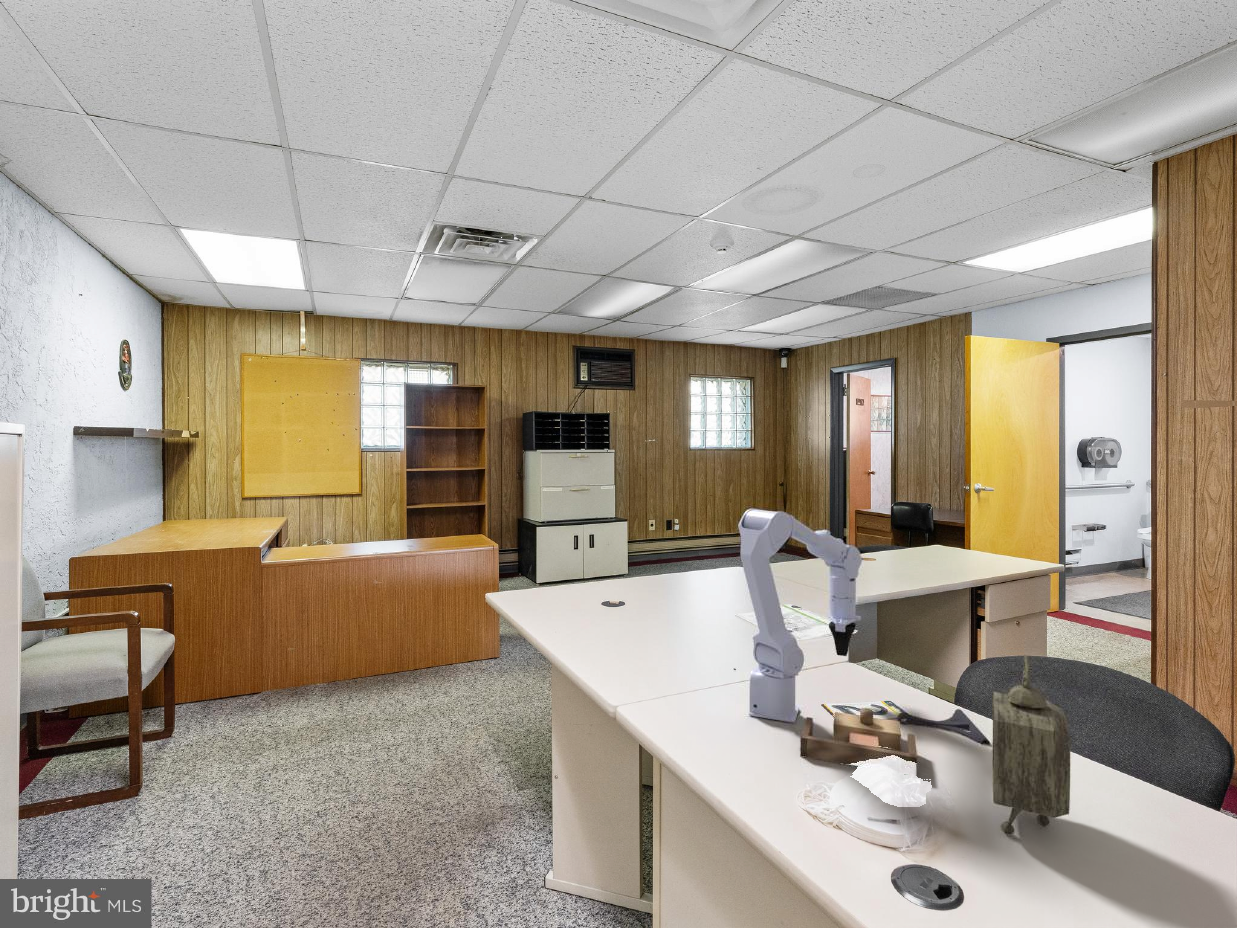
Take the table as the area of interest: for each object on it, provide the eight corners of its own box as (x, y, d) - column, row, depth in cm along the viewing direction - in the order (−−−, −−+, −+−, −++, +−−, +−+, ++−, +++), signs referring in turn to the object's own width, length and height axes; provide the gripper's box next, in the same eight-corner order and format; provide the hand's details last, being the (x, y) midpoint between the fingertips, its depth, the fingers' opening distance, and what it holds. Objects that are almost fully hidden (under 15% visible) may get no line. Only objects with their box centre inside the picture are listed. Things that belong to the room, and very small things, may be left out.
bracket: (889, 711, 136) (889, 698, 136) (962, 716, 133) (962, 703, 133) (907, 742, 122) (907, 728, 122) (990, 748, 119) (990, 734, 119)
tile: (849, 756, 115) (849, 742, 115) (849, 744, 120) (849, 731, 120) (878, 760, 113) (878, 747, 113) (877, 748, 118) (877, 735, 118)
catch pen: (800, 756, 114) (800, 737, 114) (806, 734, 123) (806, 716, 123) (917, 777, 107) (917, 757, 107) (914, 753, 115) (914, 734, 115)
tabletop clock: (992, 791, 103) (993, 640, 102) (1058, 806, 98) (1060, 649, 98) (993, 837, 90) (995, 666, 90) (1070, 858, 86) (1072, 678, 85)
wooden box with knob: (833, 741, 121) (833, 711, 121) (834, 728, 126) (835, 700, 126) (900, 752, 116) (901, 721, 116) (899, 739, 122) (899, 709, 122)
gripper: (859, 604, 135) (859, 667, 135) (862, 591, 148) (861, 647, 148) (825, 601, 137) (825, 662, 138) (830, 588, 151) (830, 644, 151)
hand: (842, 654), depth 143 cm, fingers closed
